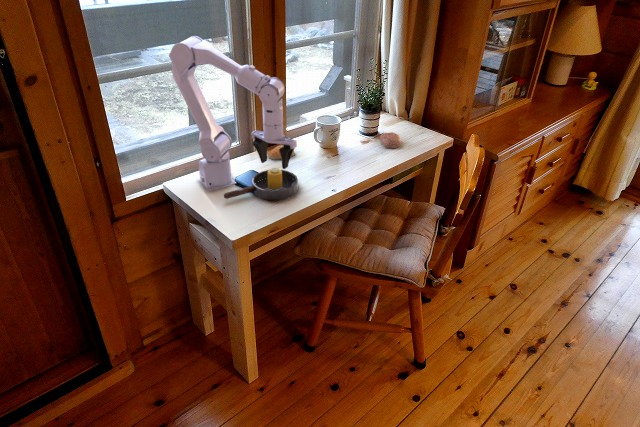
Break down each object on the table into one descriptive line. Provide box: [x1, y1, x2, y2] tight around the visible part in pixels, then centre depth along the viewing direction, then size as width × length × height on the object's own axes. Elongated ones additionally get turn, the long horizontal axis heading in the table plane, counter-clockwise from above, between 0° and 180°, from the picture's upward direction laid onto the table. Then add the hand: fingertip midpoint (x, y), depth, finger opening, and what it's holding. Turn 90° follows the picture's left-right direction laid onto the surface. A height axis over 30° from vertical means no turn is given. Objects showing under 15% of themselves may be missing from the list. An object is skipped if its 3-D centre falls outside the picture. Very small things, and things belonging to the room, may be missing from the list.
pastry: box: [267, 144, 296, 161], centre depth 167 cm, size 9×7×4 cm
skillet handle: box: [223, 185, 256, 200], centre depth 141 cm, size 11×2×2 cm, turn 122°
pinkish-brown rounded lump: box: [379, 132, 402, 149], centre depth 178 cm, size 8×6×8 cm
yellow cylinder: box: [267, 167, 282, 191], centre depth 146 cm, size 4×4×7 cm
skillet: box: [251, 169, 299, 202], centre depth 147 cm, size 14×14×4 cm
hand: (274, 164), depth 143 cm, fingers open, 7 cm apart
